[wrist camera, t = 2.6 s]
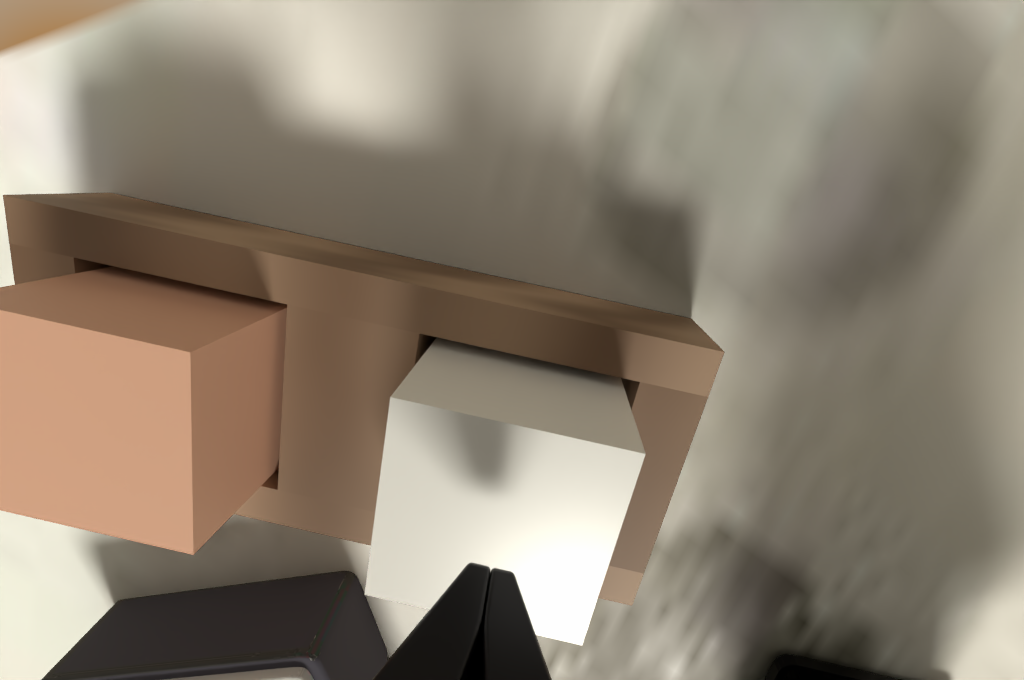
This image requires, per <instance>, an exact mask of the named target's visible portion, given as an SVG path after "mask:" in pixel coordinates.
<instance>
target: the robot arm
mask: <svg viewBox="0 0 1024 680" xmlns="http://www.w3.org/2000/svg"><path fill="white" fill-rule="evenodd" d="M372 680H551V677H550V674H549V671H548V668H547V665H546V662H545V660H544V657H543V654H542V651H541V648H540V645H539V643H538V640H537V637H536V634H535V631H534V628H533V626H532V623H531V620H530V617H529V614H528V611H527V608H526V606H525V603H524V600H523V597H522V594H521V591H520V589H519V586H518V583H517V580H516V577H515V575H514V573H513V572H511V571H507V570H503V569H498V568H493V569H492V570H491V572H490V568H489V566H485V565H481V564H477V563H472V562H471V563H469V564H467V565H466V566H465V568H464V569H463V570H462V571H461V572H460V574H459V575H458V576H457V577H456V579H455V580H454V581H453V582H452V583H451V585H450V586H449V587H448V588H447V589H446V591H445V592H444V593H443V594H442V596H441V597H440V598H439V599H438V600H437V602H436V603H435V604H434V605H433V606H432V608H431V609H430V610H429V611H428V613H427V614H426V615H425V616H424V617H423V619H422V620H421V621H420V622H419V623H418V625H417V626H416V627H415V628H414V630H413V631H412V632H411V633H410V634H409V636H408V637H407V638H406V639H405V640H404V642H403V643H402V644H401V645H400V647H399V648H398V649H397V650H396V651H395V653H394V654H393V655H392V656H391V657H390V659H389V660H388V661H387V662H386V664H385V665H384V666H383V667H382V668H381V670H380V671H379V672H378V673H377V674H376V676H375V677H374V678H373V679H372ZM765 680H899V679H895V678H891V677H886V676H882V675H878V674H873V673H869V672H865V671H860V670H856V669H852V668H847V667H843V666H839V665H834V664H830V663H826V662H821V661H817V660H813V659H808V658H804V657H800V656H795V655H789V654H786V655H781V656H780V657H778V658H776V660H775V661H774V662H773V664H772V666H771V668H770V670H769V672H768V674H767V676H766V678H765Z"/></svg>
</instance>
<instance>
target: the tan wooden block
mask: <svg viewBox="0 0 1024 680" xmlns="http://www.w3.org/2000/svg"><path fill="white" fill-rule="evenodd" d="M286 320H287V304H283V303H279V302H274V301H269V300H265V299H260V298H256V297H251V296H247V295H242V294H238V293H233V292H228V291H224V290H219V289H215V288H210V287H206V286H201V285H197V284H192V283H188V282H183V281H178V280H174V279H169V278H165V277H160V276H156V275H151V274H147V273H142V272H138V271H133V270H128V269H124V268H119V267H115V266H112V267H107V268H102V269H96V270H91V271H86V272H80V273H75V274H70V275H64V276H59V277H54V278H48V279H43V280H38V281H32V282H27V283H22V284H16V285H11V286H6V287H0V510H2V511H6V512H11V513H15V514H19V515H23V516H28V517H32V518H36V519H41V520H45V521H49V522H53V523H58V524H62V525H66V526H71V527H75V528H79V529H84V530H88V531H92V532H96V533H101V534H105V535H109V536H114V537H118V538H122V539H127V540H131V541H135V542H139V543H144V544H148V545H152V546H157V547H161V548H165V549H170V550H174V551H178V552H182V553H187V554H191V555H194V554H195V553H196V552H197V551H198V550H199V549H200V548H201V547H202V546H203V545H204V544H205V543H206V542H207V541H208V540H209V539H210V538H211V537H212V536H213V534H214V533H215V532H216V531H217V530H218V529H219V528H220V527H221V526H222V525H223V524H224V523H225V522H226V521H227V520H228V519H229V518H230V517H231V516H232V515H233V514H234V513H235V512H236V511H237V510H238V509H239V508H240V507H241V506H242V505H243V504H244V503H245V502H246V501H247V500H248V499H249V498H250V497H251V496H252V495H253V494H254V493H255V492H256V491H257V490H258V488H259V487H260V486H261V485H262V484H263V483H264V482H265V481H266V480H267V479H268V478H269V477H270V476H271V475H272V474H273V473H274V472H275V471H276V470H277V469H278V468H279V455H280V435H281V416H282V397H283V378H284V359H285V339H286Z"/></svg>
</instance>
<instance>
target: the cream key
mask: <svg viewBox="0 0 1024 680" xmlns="http://www.w3.org/2000/svg"><path fill="white" fill-rule="evenodd" d="M644 457H645V450H644V447H643V444H642V441H641V438H640V435H639V432H638V429H637V426H636V423H635V420H634V417H633V414H632V411H631V407H630V404H629V401H628V398H627V395H626V392H625V389H624V386H623V383H622V380H621V378H620V377H615V376H610V375H606V374H601V373H597V372H592V371H588V370H583V369H579V368H574V367H570V366H565V365H560V364H556V363H551V362H547V361H542V360H538V359H533V358H529V357H524V356H520V355H515V354H510V353H506V352H501V351H497V350H492V349H488V348H483V347H479V346H474V345H470V344H465V343H460V342H456V341H451V340H447V339H442V338H438V337H437V338H436V339H435V340H434V342H433V343H432V344H431V346H430V347H429V348H428V349H427V351H426V352H425V353H424V355H423V356H422V357H421V358H420V360H419V361H418V362H417V363H416V365H415V366H414V367H413V369H412V370H411V371H410V372H409V374H408V375H407V376H406V378H405V379H404V380H403V381H402V383H401V384H400V385H399V387H398V388H397V389H396V390H395V392H394V393H393V394H392V396H391V397H390V403H389V411H388V419H387V426H386V434H385V441H384V449H383V457H382V464H381V472H380V480H379V487H378V495H377V502H376V510H375V518H374V525H373V533H372V541H371V548H370V556H369V563H368V571H367V579H366V586H365V594H364V595H367V596H372V597H376V598H380V599H384V600H389V601H393V602H397V603H402V604H406V605H410V606H415V607H419V608H423V609H427V610H430V609H431V608H432V606H433V605H434V604H435V603H436V602H437V600H438V599H439V598H440V597H441V596H442V594H443V593H444V592H445V591H446V589H447V588H448V587H449V586H450V585H451V583H452V582H453V581H454V580H455V579H456V577H457V576H458V575H459V574H460V572H461V571H462V570H463V569H464V568H465V566H466V565H467V564H469V563H471V562H472V563H477V564H481V565H485V566H489V568H490V572H491V570H492V569H493V568H498V569H503V570H507V571H511V572H513V573H514V575H515V577H516V580H517V583H518V586H519V589H520V591H521V594H522V597H523V600H524V603H525V606H526V608H527V611H528V614H529V617H530V620H531V623H532V626H533V628H534V631H535V634H536V635H539V636H544V637H548V638H552V639H556V640H561V641H565V642H569V643H574V644H578V645H582V644H583V641H584V638H585V635H586V632H587V629H588V626H589V623H590V620H591V617H592V614H593V611H594V608H595V605H596V602H597V599H598V596H599V593H600V590H601V587H602V584H603V581H604V578H605V575H606V572H607V569H608V566H609V563H610V560H611V557H612V554H613V551H614V548H615V545H616V542H617V539H618V536H619V533H620V530H621V527H622V524H623V521H624V518H625V515H626V512H627V509H628V506H629V503H630V500H631V497H632V494H633V491H634V488H635V485H636V482H637V479H638V476H639V473H640V470H641V467H642V464H643V461H644Z"/></svg>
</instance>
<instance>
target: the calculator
mask: <svg viewBox="0 0 1024 680" xmlns="http://www.w3.org/2000/svg"><path fill="white" fill-rule="evenodd" d="M387 661H388V659H387V650H386V647H385V644H384V642H383V639H382V637H381V634H380V632H379V629H378V627H377V624H376V622H375V619H374V617H373V614H372V612H371V609H370V607H369V604H368V602H367V599H366V597H365V595H364V592H363V589H362V587H361V584H360V582H359V580H358V578H357V576H356V575H355V574H353V573H351V572H349V571H339V572H331V573H323V574H315V575H307V576H300V577H292V578H284V579H277V580H269V581H261V582H254V583H246V584H238V585H230V586H223V587H215V588H207V589H200V590H192V591H184V592H177V593H169V594H161V595H154V596H146V597H138V598H131V599H123V600H119V601H118V602H117V603H116V604H115V605H114V606H113V607H112V608H111V609H110V610H109V611H108V612H107V613H106V614H105V615H104V616H103V617H102V618H101V619H100V620H99V621H98V622H97V623H96V624H95V625H94V626H93V627H92V628H91V629H90V630H89V631H88V632H87V633H86V634H85V635H84V636H83V637H82V638H81V639H80V640H79V641H78V642H77V644H76V645H75V646H74V647H73V648H72V649H71V650H70V651H69V652H68V653H67V654H66V655H65V656H64V657H63V658H62V659H61V660H60V661H59V662H58V663H57V664H56V665H55V666H54V667H53V668H52V669H51V670H50V671H49V672H48V673H47V674H46V675H45V677H44V678H43V679H42V680H372V679H373V678H374V677H375V676H376V674H377V673H378V672H379V671H380V670H381V668H382V667H383V666H384V665H385V664H386V662H387Z"/></svg>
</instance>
